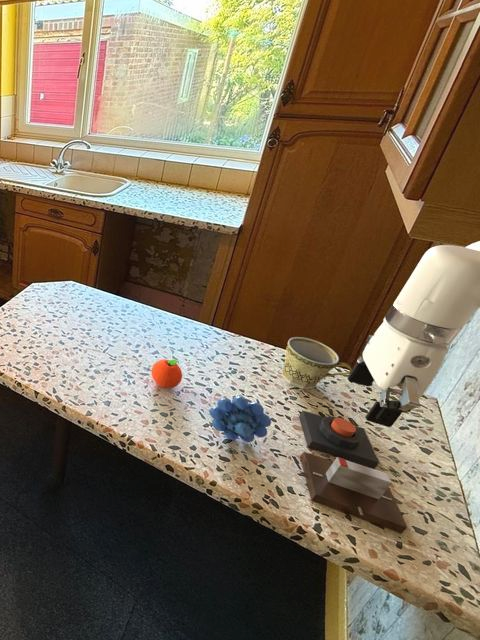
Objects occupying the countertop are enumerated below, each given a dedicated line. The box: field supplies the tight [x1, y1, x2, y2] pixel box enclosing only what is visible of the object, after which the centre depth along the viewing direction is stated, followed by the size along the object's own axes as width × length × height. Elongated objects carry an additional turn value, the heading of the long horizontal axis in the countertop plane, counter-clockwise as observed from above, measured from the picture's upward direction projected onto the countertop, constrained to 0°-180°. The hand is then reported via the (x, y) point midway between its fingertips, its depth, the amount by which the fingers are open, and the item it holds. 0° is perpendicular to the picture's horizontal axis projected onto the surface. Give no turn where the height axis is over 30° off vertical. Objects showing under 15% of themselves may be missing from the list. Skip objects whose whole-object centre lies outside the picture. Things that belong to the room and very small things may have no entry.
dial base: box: [299, 451, 408, 534], centre depth 76 cm, size 13×12×2 cm
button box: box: [298, 410, 380, 470], centre depth 86 cm, size 11×9×4 cm
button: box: [331, 417, 356, 437], centre depth 85 cm, size 4×4×2 cm
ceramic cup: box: [281, 336, 353, 390], centre depth 99 cm, size 13×10×10 cm
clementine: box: [151, 358, 183, 389], centre depth 100 cm, size 8×7×7 cm
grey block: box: [326, 457, 393, 499], centre depth 75 cm, size 8×2×5 cm, turn 64°
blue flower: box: [208, 395, 272, 443], centre depth 84 cm, size 12×7×12 cm, turn 74°
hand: (367, 401), depth 69 cm, fingers open, 9 cm apart
